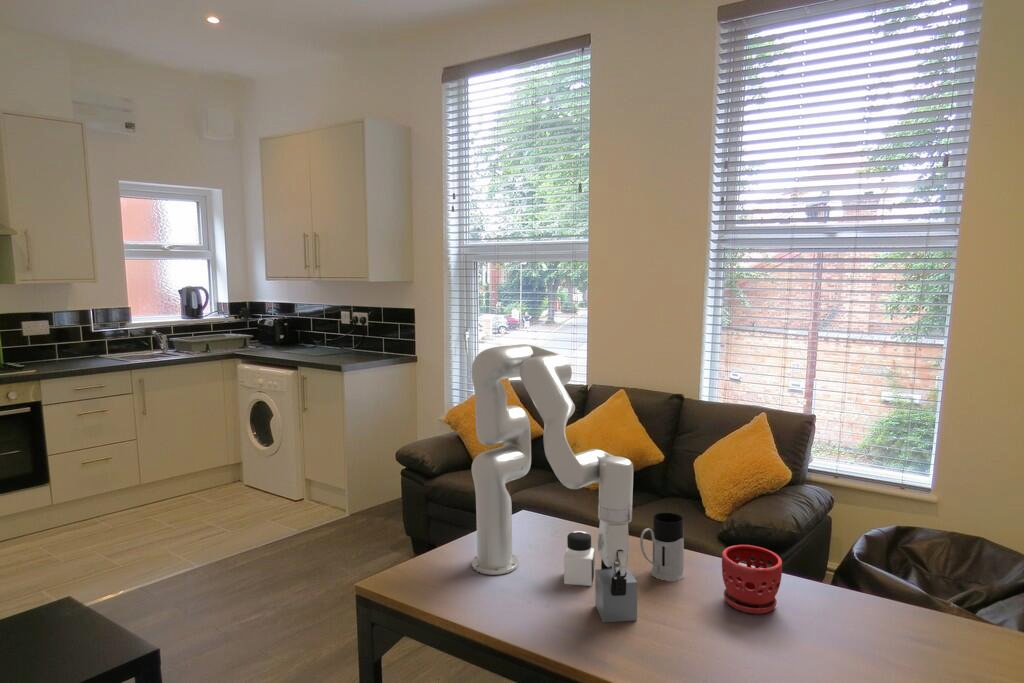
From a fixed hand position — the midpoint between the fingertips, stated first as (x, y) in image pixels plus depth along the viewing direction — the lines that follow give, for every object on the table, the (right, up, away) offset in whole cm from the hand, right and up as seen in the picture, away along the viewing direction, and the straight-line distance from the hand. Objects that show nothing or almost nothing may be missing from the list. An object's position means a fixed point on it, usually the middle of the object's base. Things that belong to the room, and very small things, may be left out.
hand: (613, 584), depth 146 cm
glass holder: (+15, -5, +18) cm, 24 cm away
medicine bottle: (-6, -6, +17) cm, 19 cm away
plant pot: (+33, -6, +3) cm, 33 cm away
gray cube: (+1, -7, 0) cm, 7 cm away
